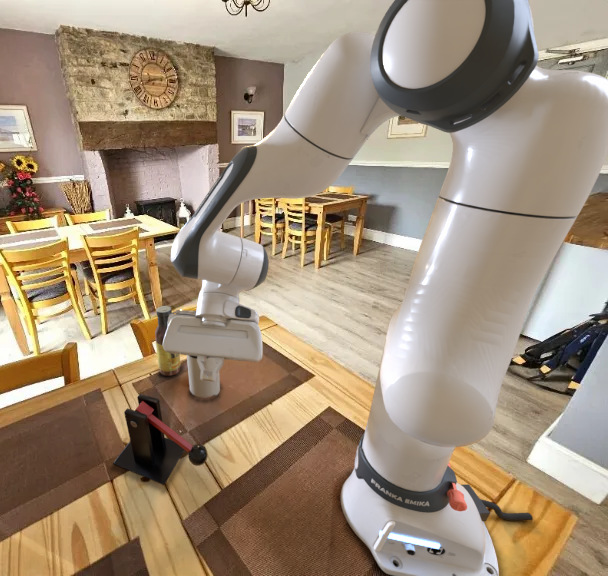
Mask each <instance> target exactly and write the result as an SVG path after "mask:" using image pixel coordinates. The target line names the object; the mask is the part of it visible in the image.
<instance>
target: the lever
mask: <svg viewBox="0 0 608 576" xmlns="http://www.w3.org/2000/svg"><path fill="white" fill-rule="evenodd" d="M134 411H137V412H140V413H143V414H146V415H147V418H148V422H149V423H151V424H152V425H153V426H155V427H156V428H157V429H159V430H160V431H161V432H162V433H164V436H166V437H167V438H168V439H170V440H173V441H174V442H175V443H177V444H178V445H179V446H181V447H182V448H183V449H184V451H185V452H187V453H188V457H187V458H188V460H189V462H190V464H191V465H193V466H195V467H200V466H202V465H204V464H205V463H206V462H207V460H208V456H209V453H208V449H207V447H205V446H204V445H203V444H201V443H196V444H193V445H192V443H190V442H189V441H188V440H187V439H185V438H184V437H182V436H181V435H180V434H178V433H177V432H176V431H175V430H173V429H172V428H171V427H169V426H168V425H167V424H165V422H163V421H162V422H161V421H160V420H159V419H158V418H156V417H155V416H154V415H152V412H153V411H154V409H153V408H151V407H150V406H149V405H147V404H146V403H145V402H143V401H142V402H141V403H140V405H139V404H138V406H137V407H136V408H135V409H134Z"/></svg>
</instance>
